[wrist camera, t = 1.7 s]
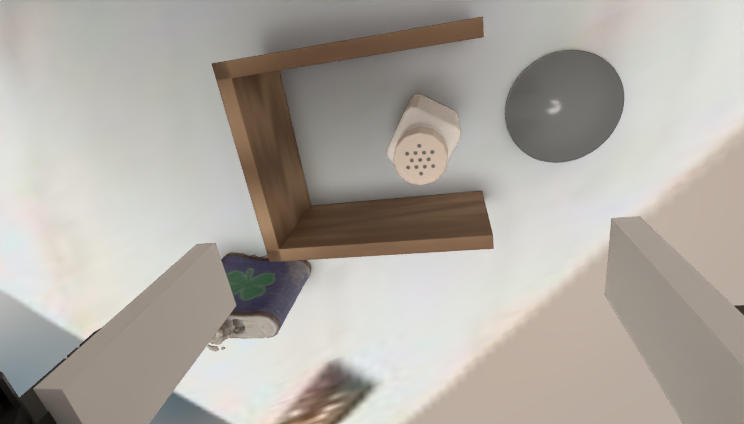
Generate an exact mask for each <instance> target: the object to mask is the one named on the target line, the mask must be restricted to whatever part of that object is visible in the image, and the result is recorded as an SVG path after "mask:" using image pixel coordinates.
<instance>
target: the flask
mask: <svg viewBox="0 0 744 424" xmlns="http://www.w3.org/2000/svg"><path fill="white" fill-rule="evenodd" d="M221 261H222V264H223V267H224V270H225V273H226V276H227V279H228V282H229V285H230V288H231V291H232V294H233V297H234V300H235V302H236V307H235V308H234V309H233V311H232V312H231V313H230V315H229V316H228V317H227V319H226V320H225V322H224V323H223V324H222V326H221V327H220V328H219V330H218V331H217V332H216V334H215V335H214V336H213V338H212V339H211V340H210V342H209V343H212V344H214V343H215V344H217V345H219V344H221V343H222V341H224V340H225V339H228V338H265V337H267V338H269V337H273V336H275V335H276V334H278V331H279V330H280V328H281V326H282V324H283V322H284V320H285V318H286V316H287V314H288V313H289V311H290V309H291V308H292V306H293V304H294V302H295V301H296V298H297V296H298V295H299V293H300V291H301V289H302V287H303V286H304V284H305V282H306V281H307V279H308V278H309V276H310V266H309V263H308V262H306V261H304V260H295V261H278V262H270V261H269V258H268V255H266V256H262V257H256V256H255V254H254V255H252V256H246V255H244V254H238V253H233V252H231V253H229V254H227V255H226V256H225V257H224V258H223V259H222V260H221ZM207 348H208V349H210V350H213V351H218V350H219V349H218V347H217V346H210V345H209V344H208V347H207ZM223 349H225V347H222V350H223Z"/></svg>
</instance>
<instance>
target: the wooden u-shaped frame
mask: <svg viewBox="0 0 744 424" xmlns="http://www.w3.org/2000/svg"><path fill="white" fill-rule="evenodd" d="M481 37H484V33H483V17H478V18H472V19H466V20H461V21H455V22H449V23H443V24H438V25H432V26H426V27H420V28H414V29H409V30H403V31H397V32H391V33H386V34H380V35H374V36H368V37H362V38H357V39H351V40H345V41H339V42H334V43H328V44H322V45H316V46H311V47H305V48H299V49H293V50H287V51H282V52H276V53H270V54H264V55H259V56H253V57H247V58H241V59H235V60H230V61H224V62H218V63H212V67H213V70H214V73H215V77H216V80H217V84H218V87H219V91H220V94H221V97H222V101H223V104H224V108H225V111H226V114H227V118H228V121H229V125H230V128H231V132H232V135H233V138H234V142H235V145H236V149H237V152H238V155H239V159H240V162H241V166H242V169H243V172H244V176H245V179H246V183H247V186H248V190H249V193H250V196H251V200H252V203H253V207H254V210H255V213H256V217H257V220H258V224H259V227H260V231H261V234H262V237H263V241H264V244H265V248H266V251H267V254H268V258H269V261H270V262H278V261H295V260H311V259H328V258H345V257H362V256H378V255H395V254H412V253H428V252H445V251H462V250H478V249H494V248H493V234H492V229H491V225H490V221H489V217H488V213H487V209H486V205H485V201H484V197H483V193H482V191H475V192H463V193H452V194H441V195H429V196H418V197H407V198H395V199H384V200H373V201H361V202H350V203H339V204H327V205H316V206H311V204H310V200H309V196H308V191H307V187H306V183H305V179H304V174H303V170H302V166H301V161H300V157H299V153H298V149H297V144H296V140H295V136H294V131H293V127H292V123H291V119H290V114H289V110H288V106H287V101H286V97H285V93H284V89H283V84H282V80H281V76H280V71H279V70H285V69H291V68H297V67H303V66H309V65H315V64H321V63H328V62H334V61H340V60H346V59H352V58H358V57H364V56H371V55H377V54H383V53H389V52H395V51H401V50H407V49H413V48H420V47H426V46H432V45H438V44H444V43H450V42H456V41H462V40H469V39H475V38H481Z"/></svg>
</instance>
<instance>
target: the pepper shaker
mask: <svg viewBox="0 0 744 424" xmlns="http://www.w3.org/2000/svg"><path fill="white" fill-rule="evenodd" d="M460 136H461V128H460V123H459V117H458V114H457V113H456V112H455V111H454V110H452V109H450V108H448V107H445V106H443V105H441V104H439V103H437V102H435V101H433V100H431V99H429V98H427V97H425V96H423V95H414V96H413V97H412V98H411V99H410V101H409V103H408V105H407V107H406V109H405V111H404V114H403V116H402V118H401V120H400V122H399V124H398V126H397V128H396V131H395V133H394V135H393V137H392V139H391V141H390V144H389V146H388V148H387V156H388V158H389V159H390V160H391V161H392V162H393V163H394V165H395V168H396V171H397V173H398V175H400V176H401V177H402V178H403V179H404V180H406V181H407V182H408V183H412V184H418V185H425V184H428V183H431V182H435V181H436V180H437V179H438V178H439V177H440V176H441V175H442V174H443V173H444V172H445V169H446V165H447V162H448V160H449V159H450V157H451V155H452V153H453V151H454V149H455V148H456V146H457V144H458V142H459V140H460Z"/></svg>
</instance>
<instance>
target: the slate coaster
mask: <svg viewBox="0 0 744 424" xmlns="http://www.w3.org/2000/svg"><path fill="white" fill-rule="evenodd" d="M623 106H624V90H623V85H622V82H621V79H620V77H619V75H618V73H617V72H616V71H615V69H614V68H613V67H612V66H611V65H610V64H609V63H608V62H607V61H606V60H604V59H603V58H601V57H599V56H597V55H595V54H592V53H589V52H584V51H576V50H567V51H560V52H555V53H552V54H549V55H547V56H545V57H542V58H540V59H539V60H537V61H535V62H534V63H532V64H531V65H530V66H529V67H527V68H526V69H525V70H524V71H523V72H522V73H521V74H520V76H519V77H518V78H517V80H516V81H515V83H514V84H513V86H512V88H511V90H510V92H509V95H508V98H507V101H506V107H505V120H506V125H507V129H508V131H509V134H510V136H511V137H512V139H513V141H514V142H515V144H516V145H517V146H518V147H519V148H520V149H521V150H522V151H523V152H524V153H526V154H527V155H529V156H531V157H533V158H535V159H538V160H541V161H545V162H554V163H556V162H567V161H572V160H575V159H578V158H581V157H583V156H585V155H587V154H589V153H591V152H593V151H594V150H595V149H597V148H598V147H599V146H601V145H602V144H603V143H604V142H605V141H606V140H607V139H608V138H609V137H610V135H611V134H612V133H613V131H614V130H615V128H616V126H617V124H618V122H619V120H620V118H621V115H622V111H623Z"/></svg>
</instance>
